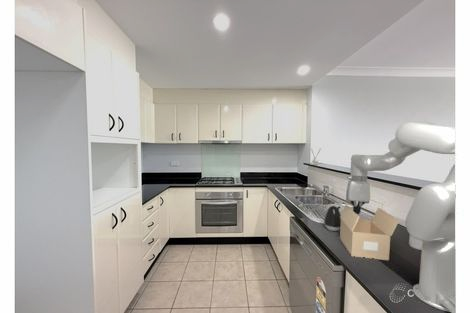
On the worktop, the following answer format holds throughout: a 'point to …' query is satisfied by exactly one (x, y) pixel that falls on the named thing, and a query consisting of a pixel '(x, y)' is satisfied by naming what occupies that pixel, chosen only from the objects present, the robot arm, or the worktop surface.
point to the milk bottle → (415, 243)
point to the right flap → (385, 221)
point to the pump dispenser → (333, 219)
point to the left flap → (349, 218)
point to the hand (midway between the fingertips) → (356, 213)
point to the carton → (366, 240)
